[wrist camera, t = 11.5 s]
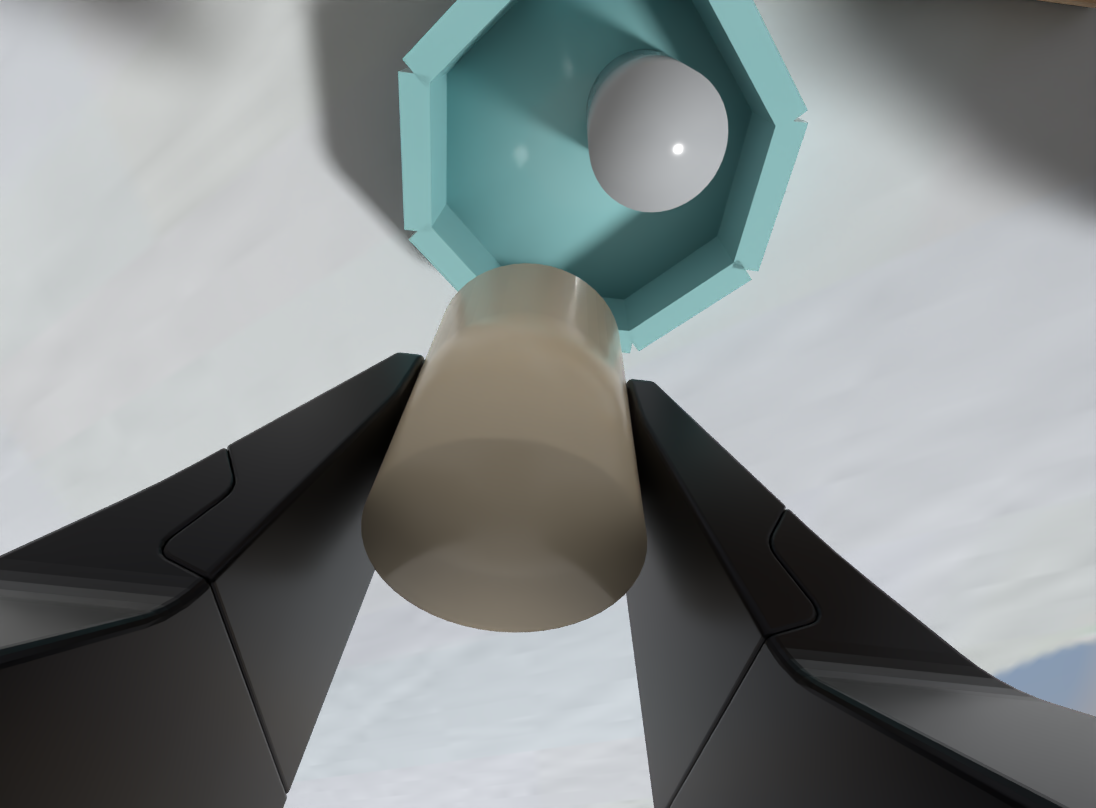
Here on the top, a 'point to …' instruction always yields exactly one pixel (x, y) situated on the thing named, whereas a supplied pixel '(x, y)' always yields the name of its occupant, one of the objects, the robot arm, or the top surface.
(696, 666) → the robot arm
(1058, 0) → the parts tray
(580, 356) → the sand beige cylinder
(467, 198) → the bowl
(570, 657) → the top surface
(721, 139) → the grey rounded cylinder
